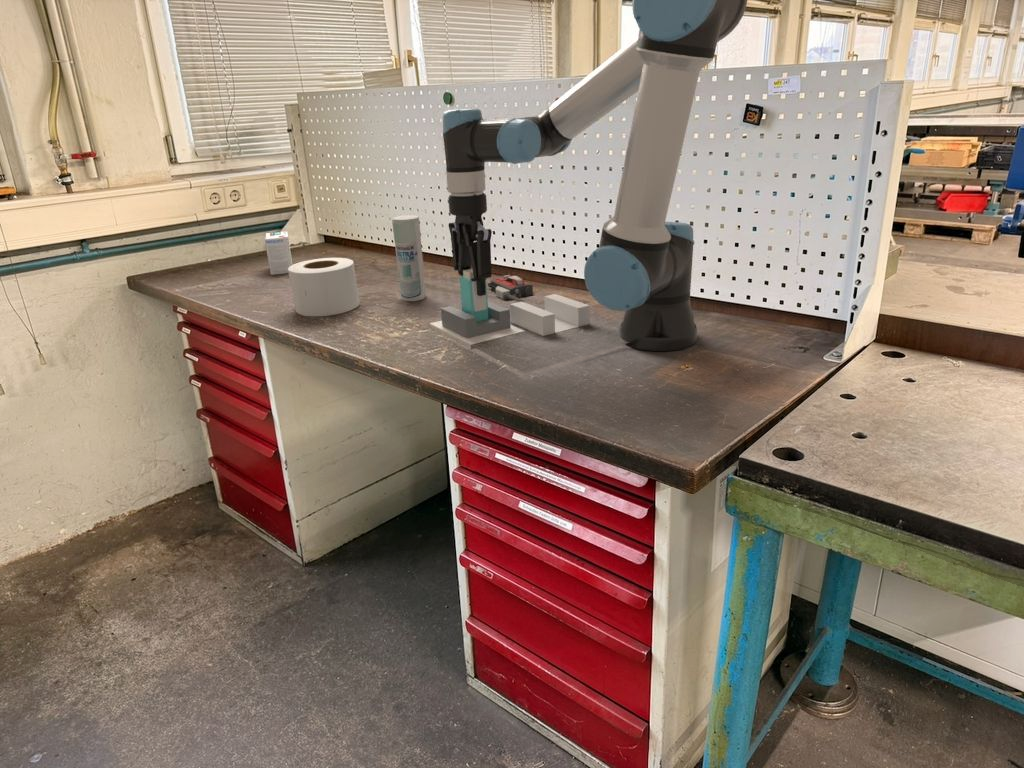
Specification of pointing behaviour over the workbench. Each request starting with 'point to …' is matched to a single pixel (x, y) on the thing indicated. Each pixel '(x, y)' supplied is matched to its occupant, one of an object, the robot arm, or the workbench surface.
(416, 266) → the spray can
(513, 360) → the workbench surface
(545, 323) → the offset white blocks
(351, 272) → the roll of tape
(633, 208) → the robot arm
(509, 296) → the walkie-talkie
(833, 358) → the workbench surface
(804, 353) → the workbench surface
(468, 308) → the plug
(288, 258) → the light bulb box
